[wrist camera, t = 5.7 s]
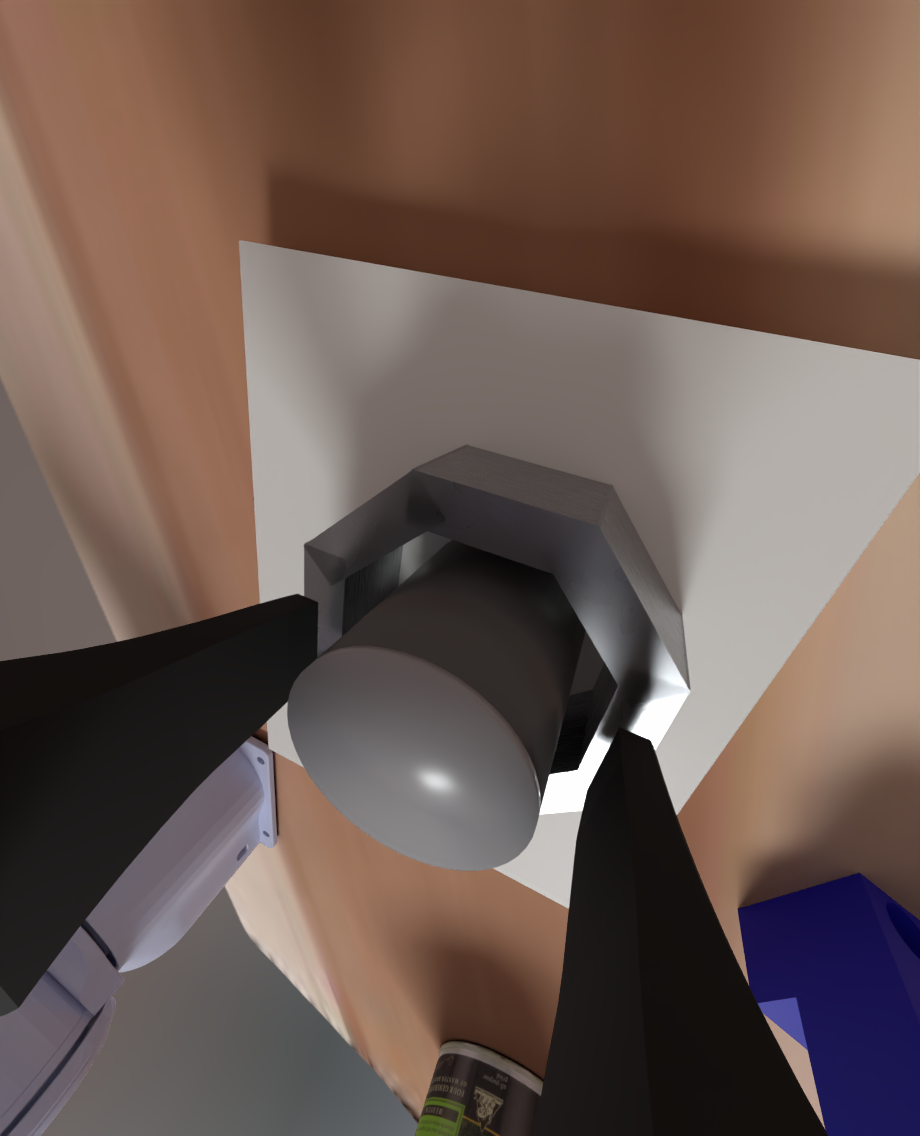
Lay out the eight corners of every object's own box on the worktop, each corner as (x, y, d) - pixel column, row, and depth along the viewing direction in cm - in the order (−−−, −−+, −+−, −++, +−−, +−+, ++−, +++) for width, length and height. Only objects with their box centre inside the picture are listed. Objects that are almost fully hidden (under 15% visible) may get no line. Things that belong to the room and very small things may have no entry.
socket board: (602, 886, 18) (589, 1023, 14) (290, 726, 22) (216, 801, 18) (940, 370, 9) (1167, 378, 5) (280, 251, 13) (120, 205, 9)
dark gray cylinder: (557, 704, 13) (499, 909, 8) (413, 644, 15) (289, 792, 10) (612, 564, 11) (578, 735, 6) (435, 507, 12) (284, 609, 7)
